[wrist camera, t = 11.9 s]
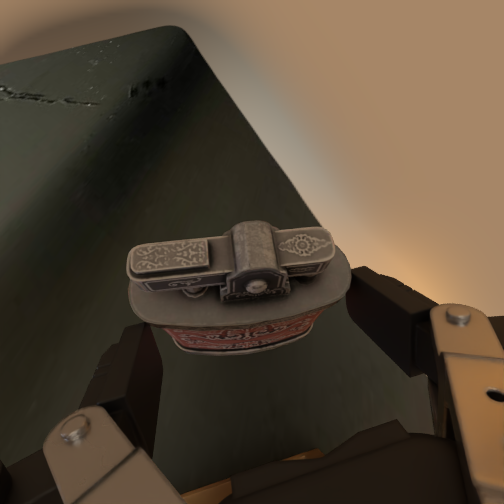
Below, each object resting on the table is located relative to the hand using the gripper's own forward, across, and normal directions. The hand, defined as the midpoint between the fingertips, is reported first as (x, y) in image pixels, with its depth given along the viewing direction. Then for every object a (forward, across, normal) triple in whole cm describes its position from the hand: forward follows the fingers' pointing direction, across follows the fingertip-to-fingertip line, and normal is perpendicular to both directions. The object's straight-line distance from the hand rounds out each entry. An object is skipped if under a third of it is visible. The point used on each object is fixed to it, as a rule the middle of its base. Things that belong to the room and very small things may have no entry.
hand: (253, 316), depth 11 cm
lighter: (+5, 0, +4) cm, 6 cm away
